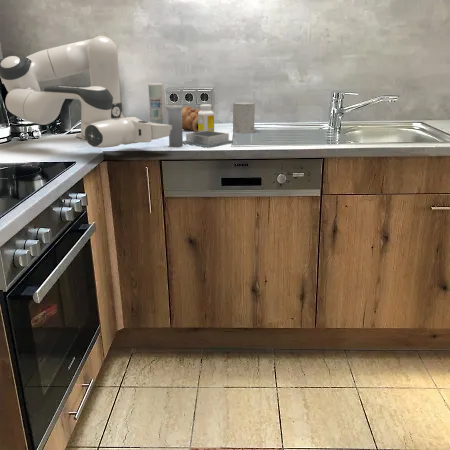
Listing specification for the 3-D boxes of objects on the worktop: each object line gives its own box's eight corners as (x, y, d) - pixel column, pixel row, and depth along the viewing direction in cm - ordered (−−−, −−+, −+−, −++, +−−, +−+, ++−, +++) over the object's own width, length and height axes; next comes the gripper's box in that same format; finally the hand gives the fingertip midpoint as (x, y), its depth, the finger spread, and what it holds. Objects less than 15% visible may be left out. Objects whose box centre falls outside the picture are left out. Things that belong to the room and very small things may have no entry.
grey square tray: (181, 143, 192) (181, 134, 191) (206, 138, 202) (206, 129, 201) (208, 147, 183) (208, 138, 182) (233, 142, 193) (233, 133, 192)
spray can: (148, 130, 223) (146, 84, 217) (152, 128, 230) (150, 83, 223) (163, 130, 223) (161, 84, 216) (166, 128, 229) (164, 83, 222)
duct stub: (165, 146, 187) (164, 105, 182) (176, 144, 191) (175, 104, 186) (175, 147, 184) (174, 106, 179) (186, 145, 188) (185, 105, 183)
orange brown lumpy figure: (210, 136, 230) (179, 125, 231) (217, 114, 227) (186, 103, 227) (202, 142, 212) (169, 130, 213) (210, 118, 209) (176, 106, 209)
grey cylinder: (238, 133, 215) (238, 104, 211) (229, 130, 223) (229, 102, 219) (258, 132, 218) (258, 103, 214) (248, 129, 226) (248, 101, 222)
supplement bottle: (215, 135, 211) (215, 104, 207) (213, 137, 205) (212, 105, 201) (199, 134, 212) (199, 103, 208) (197, 137, 206) (196, 105, 202)
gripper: (113, 136, 177) (143, 131, 187) (151, 143, 164) (181, 137, 174) (111, 118, 175) (142, 114, 184) (150, 123, 162) (181, 119, 172)
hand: (161, 125), depth 179 cm, fingers open, 8 cm apart
